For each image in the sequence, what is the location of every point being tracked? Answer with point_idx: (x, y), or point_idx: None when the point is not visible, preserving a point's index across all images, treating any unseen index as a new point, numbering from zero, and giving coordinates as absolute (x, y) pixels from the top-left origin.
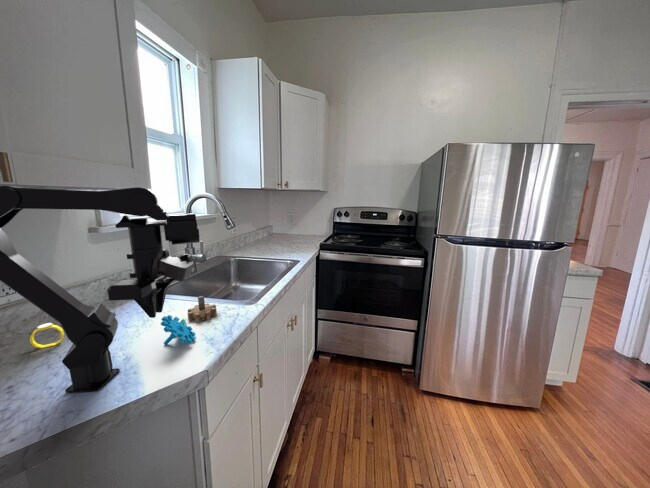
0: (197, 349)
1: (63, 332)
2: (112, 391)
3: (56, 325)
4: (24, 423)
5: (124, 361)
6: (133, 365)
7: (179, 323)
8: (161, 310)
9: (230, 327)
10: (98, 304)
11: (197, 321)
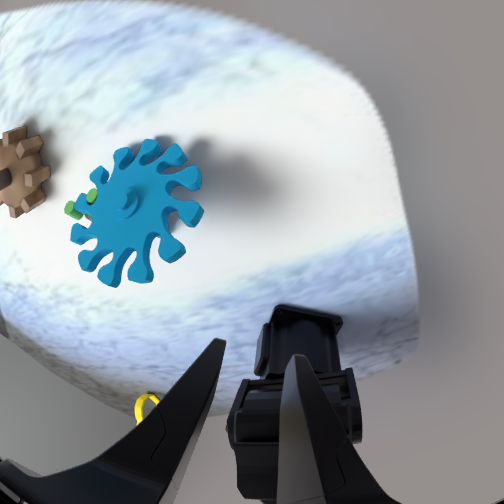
0: (217, 115)
1: (137, 402)
2: (357, 293)
3: (136, 418)
4: (370, 367)
5: (232, 306)
6: (259, 283)
7: (99, 215)
8: (223, 347)
9: (94, 44)
10: (258, 499)
11: (48, 171)
